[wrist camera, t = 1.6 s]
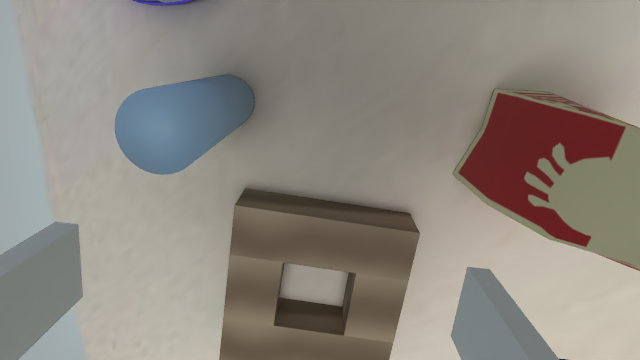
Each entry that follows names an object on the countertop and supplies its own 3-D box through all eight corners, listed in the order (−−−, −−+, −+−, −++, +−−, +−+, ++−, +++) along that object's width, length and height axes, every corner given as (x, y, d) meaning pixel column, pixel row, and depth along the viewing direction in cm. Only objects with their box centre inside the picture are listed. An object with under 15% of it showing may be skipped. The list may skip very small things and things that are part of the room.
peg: (205, 71, 32) (115, 81, 18) (256, 79, 32) (204, 95, 18) (201, 122, 33) (114, 167, 19) (251, 130, 33) (198, 180, 19)
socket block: (245, 188, 34) (234, 205, 30) (409, 213, 35) (419, 233, 31) (230, 329, 38) (219, 359, 34) (377, 350, 39) (383, 382, 35)
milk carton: (548, 216, 35) (822, 416, 15) (449, 178, 34) (607, 338, 15) (608, 115, 32) (1024, 202, 13) (502, 71, 31) (778, 95, 12)
